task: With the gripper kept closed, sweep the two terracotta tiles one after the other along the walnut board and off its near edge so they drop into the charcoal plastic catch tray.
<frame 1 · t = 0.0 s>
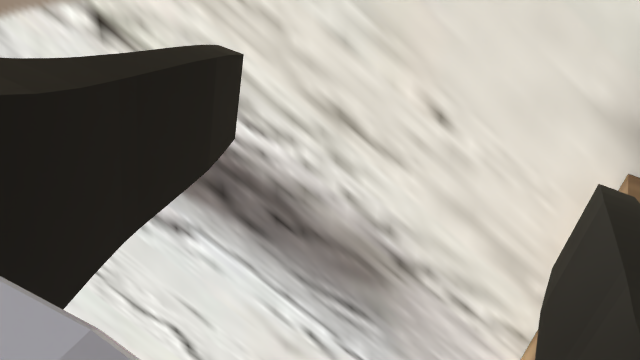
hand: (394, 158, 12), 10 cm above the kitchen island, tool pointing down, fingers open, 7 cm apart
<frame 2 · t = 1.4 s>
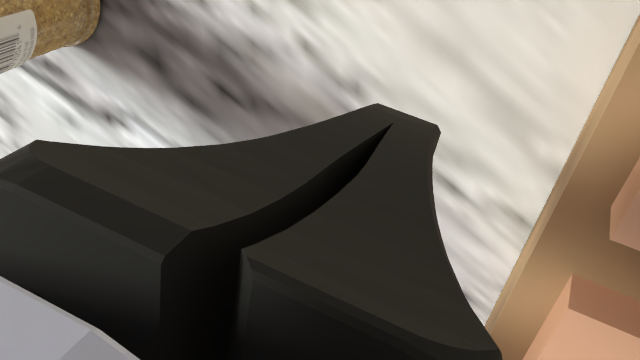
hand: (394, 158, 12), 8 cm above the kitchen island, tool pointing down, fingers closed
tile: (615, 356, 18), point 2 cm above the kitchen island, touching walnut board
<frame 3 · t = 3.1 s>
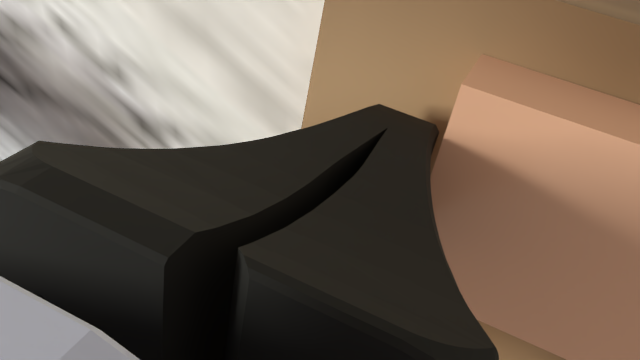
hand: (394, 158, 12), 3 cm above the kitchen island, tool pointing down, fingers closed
walnut board: (494, 252, 15), on the kitchen island
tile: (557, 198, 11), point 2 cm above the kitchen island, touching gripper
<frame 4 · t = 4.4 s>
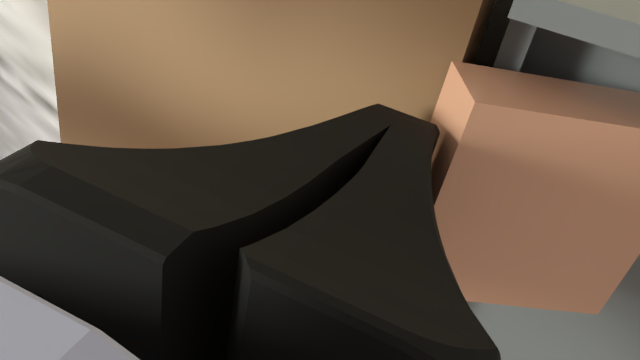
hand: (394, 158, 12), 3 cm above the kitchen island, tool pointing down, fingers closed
catch tray: (629, 306, 15), on the kitchen island
walnut board: (257, 153, 17), on the kitchen island
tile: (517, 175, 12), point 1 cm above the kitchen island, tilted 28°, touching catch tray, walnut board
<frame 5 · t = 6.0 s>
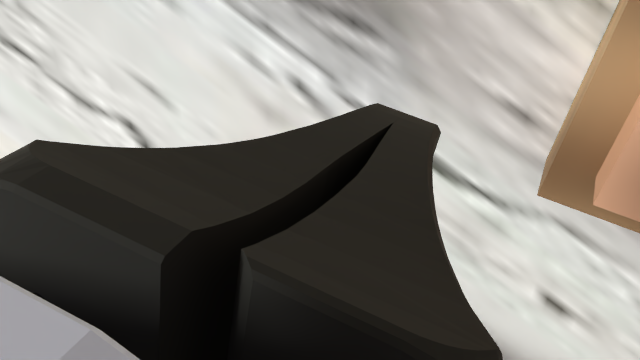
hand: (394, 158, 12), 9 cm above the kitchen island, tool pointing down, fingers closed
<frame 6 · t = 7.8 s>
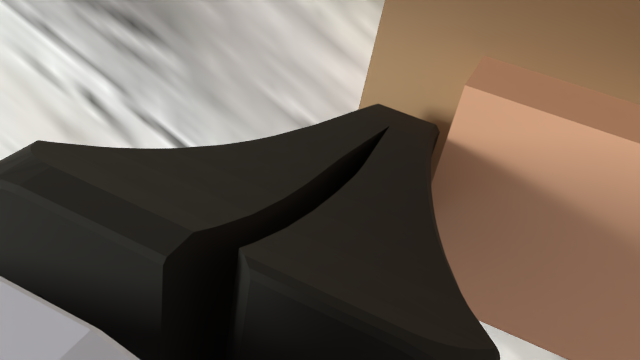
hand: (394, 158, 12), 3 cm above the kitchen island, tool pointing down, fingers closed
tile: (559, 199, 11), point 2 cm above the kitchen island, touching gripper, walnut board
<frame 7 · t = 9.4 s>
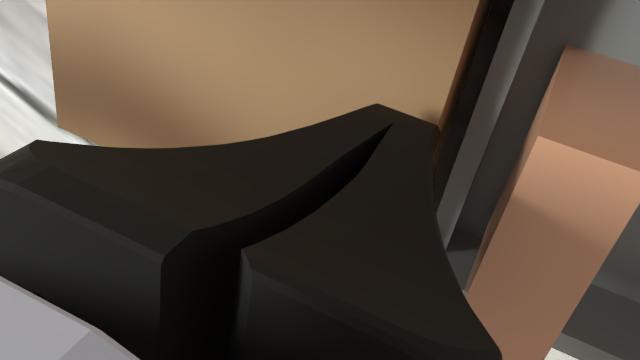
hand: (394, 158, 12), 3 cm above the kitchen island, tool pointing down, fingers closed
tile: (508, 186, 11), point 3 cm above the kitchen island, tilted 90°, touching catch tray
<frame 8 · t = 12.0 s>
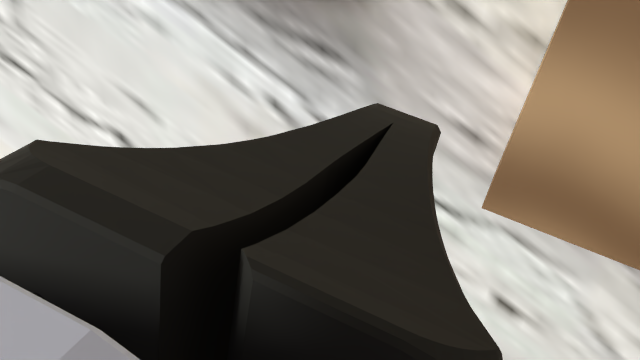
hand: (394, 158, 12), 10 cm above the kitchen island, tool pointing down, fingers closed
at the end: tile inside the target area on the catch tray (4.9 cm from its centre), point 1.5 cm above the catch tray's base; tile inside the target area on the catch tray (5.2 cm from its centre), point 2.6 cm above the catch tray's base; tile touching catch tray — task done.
